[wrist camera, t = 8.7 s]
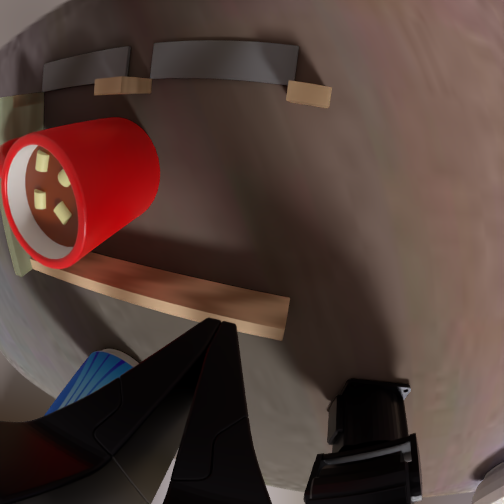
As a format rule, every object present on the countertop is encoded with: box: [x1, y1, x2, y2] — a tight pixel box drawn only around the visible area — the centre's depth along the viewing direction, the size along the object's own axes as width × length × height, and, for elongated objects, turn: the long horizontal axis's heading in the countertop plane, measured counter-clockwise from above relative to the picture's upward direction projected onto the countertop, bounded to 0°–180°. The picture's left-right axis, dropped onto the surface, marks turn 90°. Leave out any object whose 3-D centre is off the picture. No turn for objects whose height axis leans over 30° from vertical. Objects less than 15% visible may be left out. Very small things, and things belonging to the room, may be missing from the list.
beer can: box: [44, 349, 139, 416], centre depth 24 cm, size 8×8×16 cm
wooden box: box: [0, 40, 332, 341], centre depth 17 cm, size 23×18×5 cm
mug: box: [0, 117, 160, 269], centre depth 16 cm, size 8×12×8 cm, turn 66°
